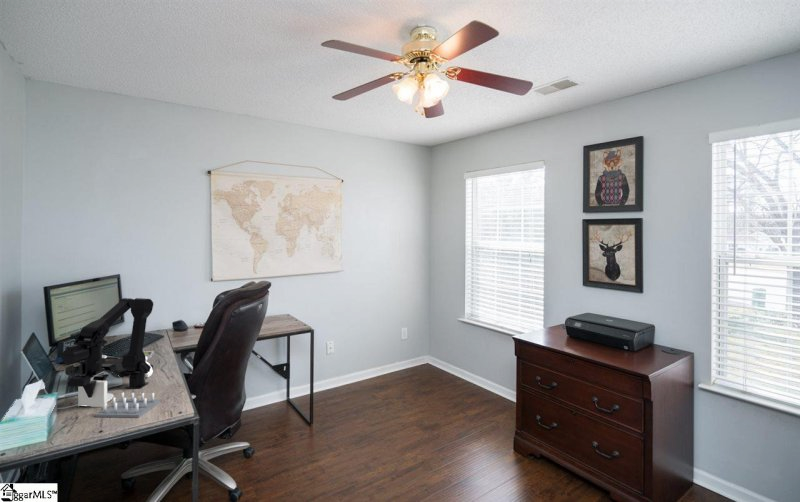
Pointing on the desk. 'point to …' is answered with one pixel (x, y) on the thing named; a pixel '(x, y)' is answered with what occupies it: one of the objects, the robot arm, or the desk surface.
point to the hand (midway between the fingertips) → (92, 395)
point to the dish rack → (128, 407)
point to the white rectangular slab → (94, 395)
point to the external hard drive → (120, 367)
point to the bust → (149, 371)
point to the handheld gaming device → (148, 354)
